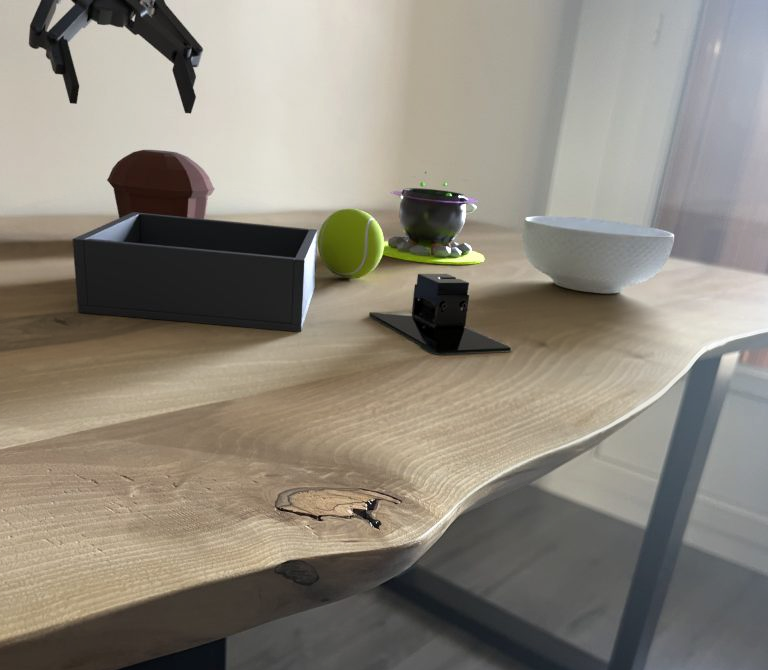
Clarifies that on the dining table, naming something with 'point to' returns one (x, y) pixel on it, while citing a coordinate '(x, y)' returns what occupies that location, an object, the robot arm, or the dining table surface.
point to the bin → (197, 271)
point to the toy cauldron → (432, 227)
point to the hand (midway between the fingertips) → (134, 100)
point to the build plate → (440, 318)
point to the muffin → (160, 184)
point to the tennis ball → (350, 243)
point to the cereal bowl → (594, 252)
